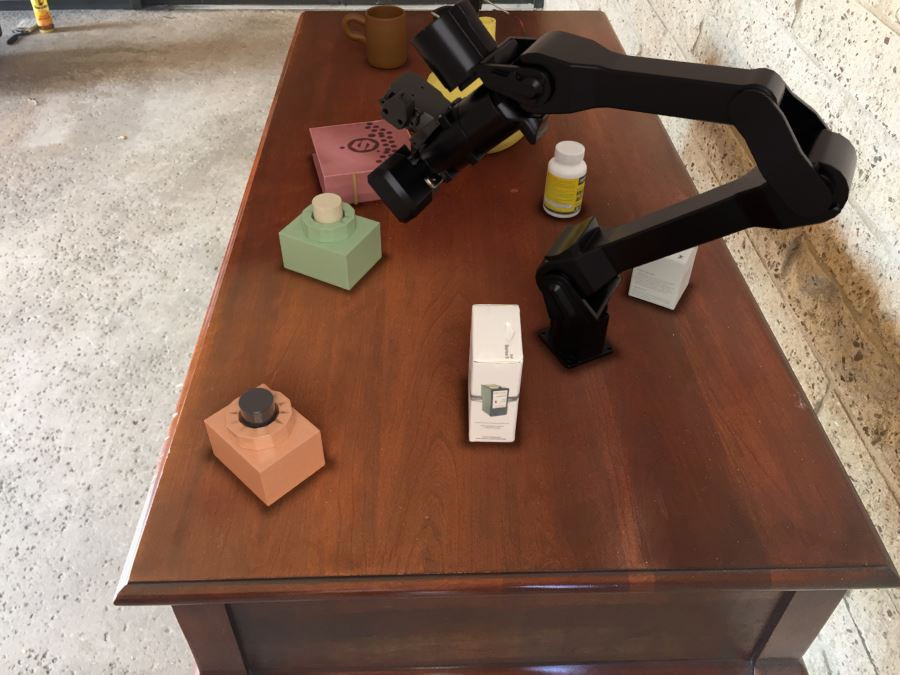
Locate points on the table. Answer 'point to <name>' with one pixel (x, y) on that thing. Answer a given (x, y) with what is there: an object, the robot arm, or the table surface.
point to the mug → (381, 35)
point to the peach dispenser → (267, 448)
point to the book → (354, 156)
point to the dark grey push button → (257, 407)
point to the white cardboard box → (663, 279)
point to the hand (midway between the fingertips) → (388, 190)
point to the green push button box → (331, 247)
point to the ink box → (494, 372)
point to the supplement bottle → (565, 180)
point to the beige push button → (327, 208)
